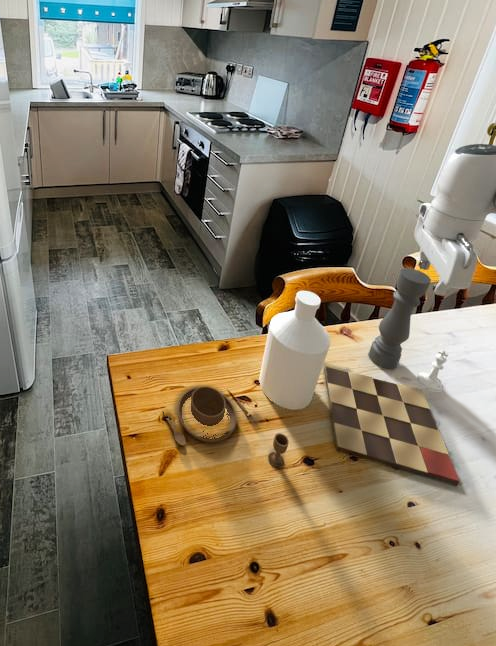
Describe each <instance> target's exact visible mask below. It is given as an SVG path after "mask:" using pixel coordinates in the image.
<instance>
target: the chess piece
mask: <svg viewBox="0 0 496 646" xmlns="http://www.w3.org/2000/svg"><path fill="white" fill-rule="evenodd" d="M446 352H447V351H446V350H445V349H443V350H438V352H437V354H435V360H434V361H432V362H431V365H432V366H433V367H432V369H431V370H430V371H429V373H428V372H419V373H418V374H417V376H416V381H417V382H418V384H419V385H420V386H421V387H423V389H425V390H427V391H429V392H432V393H441V392H442V391H443V388H444V385H443V382H442V381H441V380H440V379H439V378H438V374H439V372H440V370H444V363H447V361H448V359H447V358H448V356H449V354H448V353H446Z"/></svg>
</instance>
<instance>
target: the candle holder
mask: <svg viewBox="0 0 496 646" xmlns="http://www.w3.org/2000/svg"><path fill="white" fill-rule="evenodd" d="M431 280H432V279H431V277H430V276H429V275H428V274H426V273H425V272H422V271H421V270H418V269H415V268H410V267H403V268H401V269H400V272H399V274H398V276H397V280H396V283H395V284H396V289H397V290H395V291H393V294H392V297H393V299H394V301H393V303H392V306H391V308H390V309H389V311H388V312H387V314H386V315H384V317H383V318H382V319H381V321H380V323H379V324H378V331H379V335H378V336H376V337H375V338H374V340H373V341H372V343H371V346H370V349H369V351H368V358H369V360H370V361H371V362H372V363H373V364H375V365H376V366H377V367H379V368H381V369H383V370H388V371H390V370H391V371H392V370H395V369H396V368H397V367H398V365H399V362H400V360H401V357H402V351H403V347H402V346H401V345H402V344H403V343H405V342H407V340H409V338H410V333H411V317H412V314H413V311H414V310H415V308H417V307H419V306H420V304H421V300H420V298H422V297H423V296H424V295H426V293H427V292H428V290H429V287H430V284H431Z"/></svg>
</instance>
